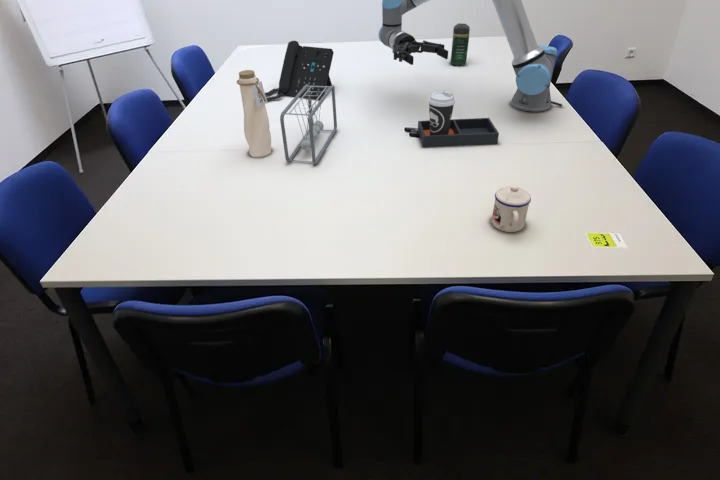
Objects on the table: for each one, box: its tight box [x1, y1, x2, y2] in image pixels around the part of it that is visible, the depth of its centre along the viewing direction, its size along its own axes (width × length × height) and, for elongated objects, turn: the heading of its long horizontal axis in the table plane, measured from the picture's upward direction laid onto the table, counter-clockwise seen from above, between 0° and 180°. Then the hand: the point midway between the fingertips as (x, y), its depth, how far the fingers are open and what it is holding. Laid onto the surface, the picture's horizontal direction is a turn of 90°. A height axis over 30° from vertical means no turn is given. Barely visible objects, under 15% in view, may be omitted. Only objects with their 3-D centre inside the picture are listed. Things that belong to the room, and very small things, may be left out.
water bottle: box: [236, 69, 272, 158], centre depth 159 cm, size 10×9×28 cm
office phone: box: [265, 40, 334, 102], centre depth 206 cm, size 29×28×20 cm
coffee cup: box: [427, 91, 457, 135], centre depth 167 cm, size 10×10×15 cm
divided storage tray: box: [417, 117, 500, 148], centre depth 171 cm, size 26×14×4 cm, turn 92°
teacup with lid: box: [491, 184, 532, 233], centre depth 124 cm, size 12×9×12 cm
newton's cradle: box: [279, 84, 338, 166], centre depth 164 cm, size 30×10×18 cm, turn 168°
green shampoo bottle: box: [450, 22, 471, 67], centre depth 234 cm, size 10×8×19 cm
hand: (430, 57), depth 163 cm, fingers open, 13 cm apart
